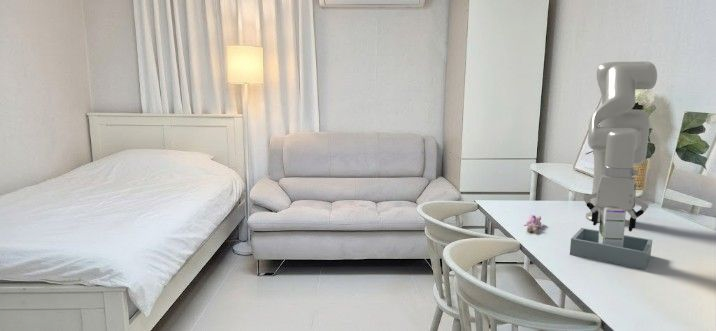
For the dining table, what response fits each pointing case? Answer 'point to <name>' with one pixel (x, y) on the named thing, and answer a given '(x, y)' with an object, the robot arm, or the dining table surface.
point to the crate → (611, 249)
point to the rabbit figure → (533, 223)
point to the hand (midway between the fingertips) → (612, 227)
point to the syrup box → (612, 226)
